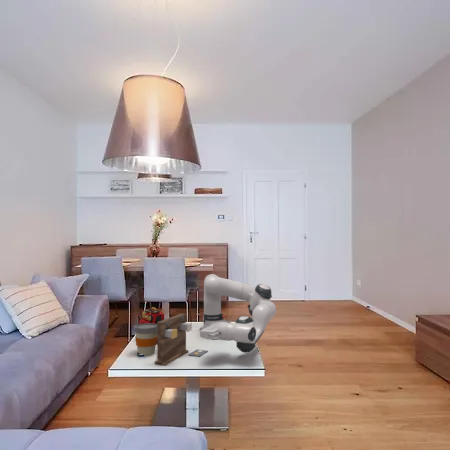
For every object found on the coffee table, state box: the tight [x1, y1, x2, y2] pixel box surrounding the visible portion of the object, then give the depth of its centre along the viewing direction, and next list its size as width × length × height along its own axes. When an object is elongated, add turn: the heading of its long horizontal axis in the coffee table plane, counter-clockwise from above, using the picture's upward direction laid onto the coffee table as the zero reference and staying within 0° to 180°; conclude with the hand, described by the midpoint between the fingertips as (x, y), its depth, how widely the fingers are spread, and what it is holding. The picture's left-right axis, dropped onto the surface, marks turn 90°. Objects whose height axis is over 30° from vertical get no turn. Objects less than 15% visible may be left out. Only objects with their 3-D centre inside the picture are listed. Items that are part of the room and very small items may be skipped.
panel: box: [154, 312, 189, 367], centre depth 191 cm, size 6×23×21 cm, turn 156°
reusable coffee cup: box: [134, 323, 157, 357], centre depth 199 cm, size 13×12×15 cm
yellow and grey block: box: [164, 329, 177, 339], centre depth 184 cm, size 7×4×4 cm, turn 66°
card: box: [187, 348, 209, 358], centre depth 198 cm, size 7×10×1 cm
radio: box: [138, 306, 165, 325], centre depth 221 cm, size 16×10×20 cm, turn 41°
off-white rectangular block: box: [180, 322, 193, 333], centre depth 197 cm, size 7×4×4 cm, turn 66°
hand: (200, 328), depth 193 cm, fingers closed
